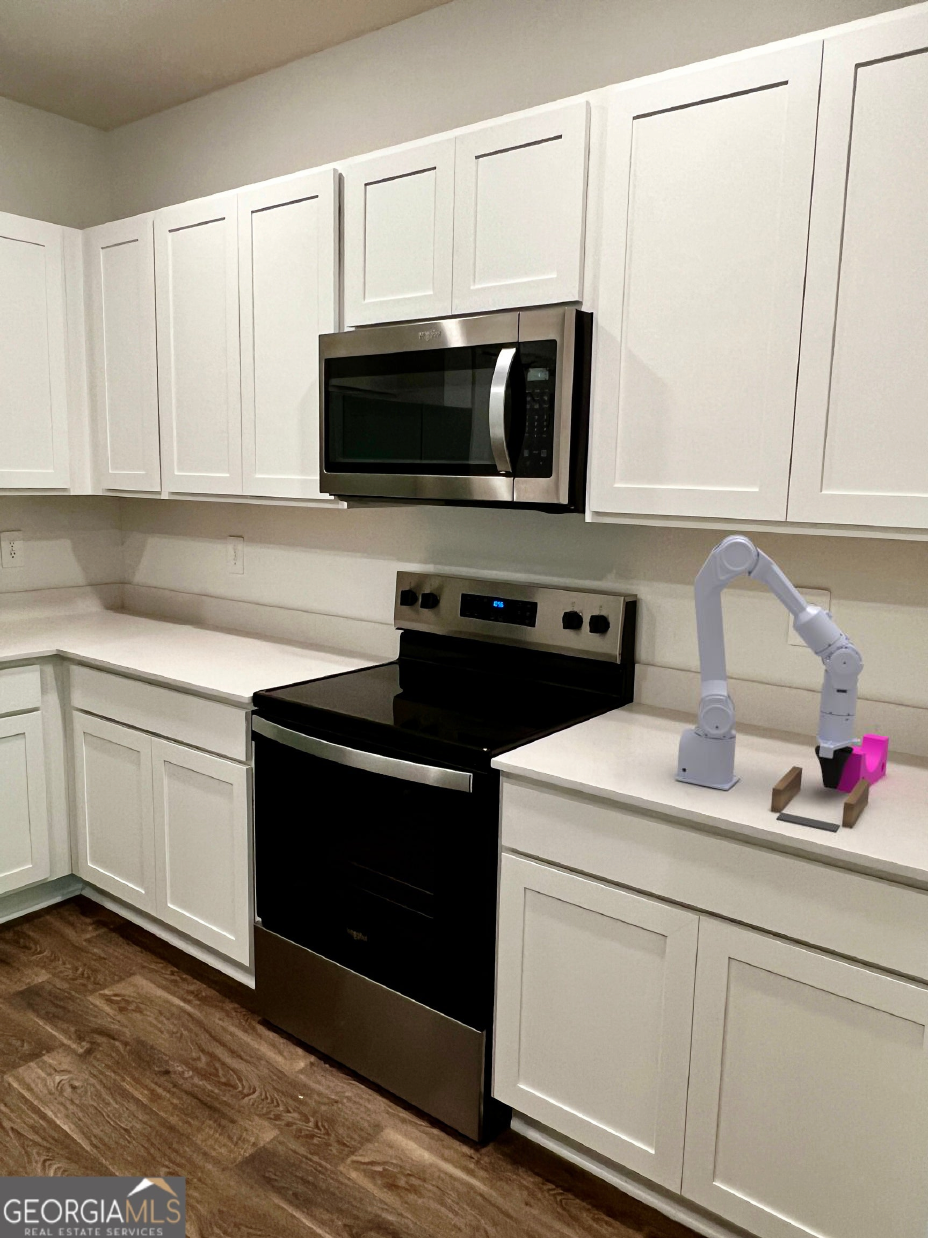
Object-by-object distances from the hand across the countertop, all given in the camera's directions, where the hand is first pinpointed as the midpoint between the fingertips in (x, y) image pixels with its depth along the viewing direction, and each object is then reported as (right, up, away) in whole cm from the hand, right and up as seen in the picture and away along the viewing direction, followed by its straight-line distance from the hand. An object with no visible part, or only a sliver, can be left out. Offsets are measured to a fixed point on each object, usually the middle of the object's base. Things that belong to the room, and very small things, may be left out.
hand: (830, 787), depth 157 cm
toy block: (+7, -1, +7) cm, 10 cm away
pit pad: (-9, -3, -14) cm, 17 cm away
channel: (-4, -2, -6) cm, 8 cm away
